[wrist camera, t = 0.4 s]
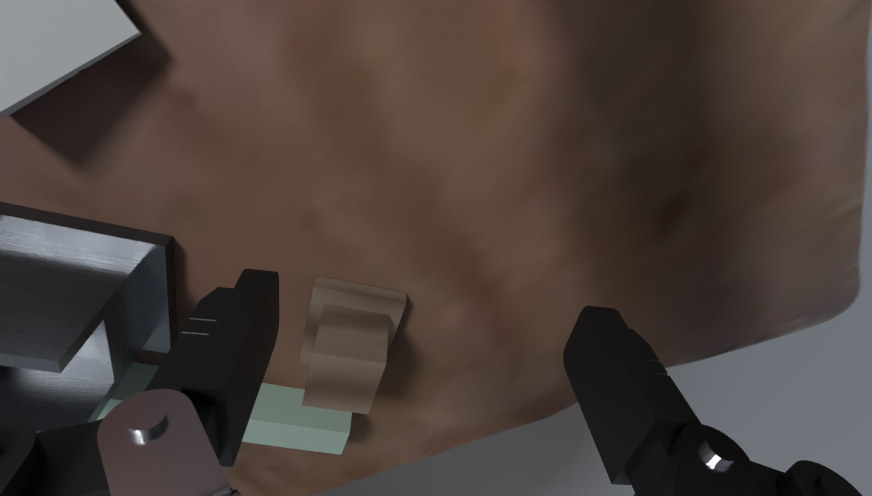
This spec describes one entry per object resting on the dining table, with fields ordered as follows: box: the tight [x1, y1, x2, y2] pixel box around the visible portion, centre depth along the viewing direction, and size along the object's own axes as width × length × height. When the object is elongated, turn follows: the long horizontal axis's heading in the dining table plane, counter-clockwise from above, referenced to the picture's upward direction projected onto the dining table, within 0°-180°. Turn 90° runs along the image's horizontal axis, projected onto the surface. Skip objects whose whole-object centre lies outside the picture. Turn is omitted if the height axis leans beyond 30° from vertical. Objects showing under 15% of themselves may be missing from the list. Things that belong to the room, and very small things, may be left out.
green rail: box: [96, 362, 352, 455], centre depth 39 cm, size 4×24×4 cm, turn 71°
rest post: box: [299, 276, 406, 414], centre depth 34 cm, size 9×7×6 cm
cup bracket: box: [0, 202, 177, 433], centre depth 28 cm, size 11×12×10 cm
